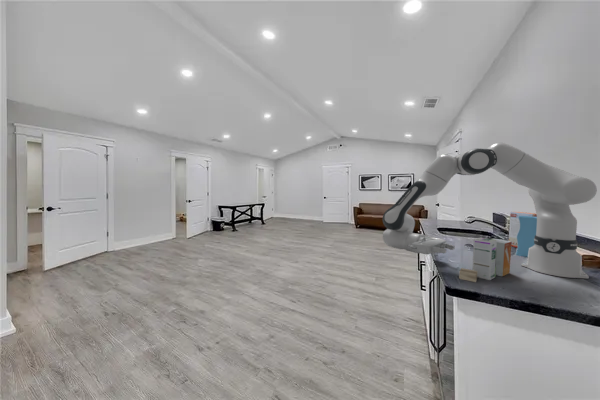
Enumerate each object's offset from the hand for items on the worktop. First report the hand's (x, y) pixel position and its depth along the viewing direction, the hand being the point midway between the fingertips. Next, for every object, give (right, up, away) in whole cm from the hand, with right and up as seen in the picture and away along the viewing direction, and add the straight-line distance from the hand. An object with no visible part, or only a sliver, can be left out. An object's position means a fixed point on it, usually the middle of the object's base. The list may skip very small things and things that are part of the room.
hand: (450, 249), depth 99 cm
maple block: (0, -9, -11) cm, 14 cm away
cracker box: (+67, -8, +38) cm, 78 cm away
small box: (+16, -9, -4) cm, 19 cm away
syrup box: (+7, -9, -9) cm, 14 cm away
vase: (+54, -8, +23) cm, 60 cm away
